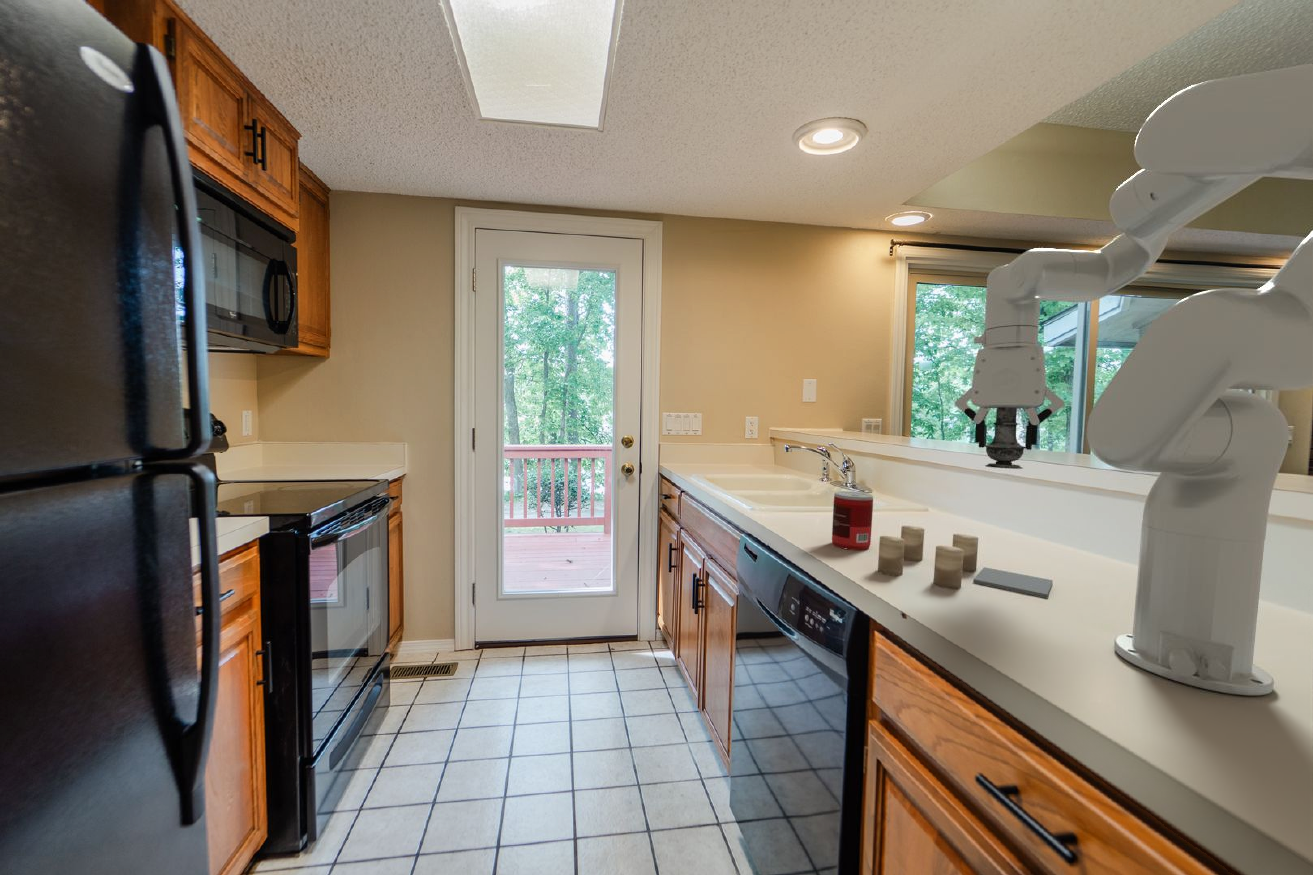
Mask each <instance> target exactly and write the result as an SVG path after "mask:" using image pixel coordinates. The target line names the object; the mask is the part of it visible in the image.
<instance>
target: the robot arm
mask: <svg viewBox="0 0 1313 875" xmlns="http://www.w3.org/2000/svg"><path fill="white" fill-rule="evenodd" d="M1135 139H1136V140H1135V144H1134V148H1133V155H1134V158H1135V161H1136V162H1135V163H1137V165H1138V166H1139V167H1140V168H1142V169H1140V170H1139V171H1137V172H1136V173H1135V174H1134V175H1132V176H1131V177H1130V178H1128V179H1127V180H1126V181H1124V182H1123V183H1122V184H1120V186H1118V188H1116V190H1115V191H1114V192H1113V194H1112V196H1111V197H1110V200H1109V212H1110V217H1111V219H1112V221H1113V223H1114V225H1115V226H1116V227H1117V229H1118V230H1119V231H1120V232H1121V233H1122V234H1120V235H1119V236H1117V238H1114V239H1113V240H1111V242H1109V243H1107V244H1106V245H1104V246H1103V247H1101V248H1099V249H1098V250H1094V251H1092V250H1091V251H1090V250H1077V249H1076V250H1075V249H1074V250H1073V249H1062V248H1061V249H1056V248H1043V247H1041V248H1033V249H1029V250H1026V251H1025V252H1023V253H1022V254H1020V255H1019V256H1017V257H1016V258H1015V259H1013V260H1012V261H1011V262H1009V264H1005V265H1001V266H998V267H996V268H994V269H992V270H991V271H990V272H989V274H988V276H987V279H986V281H987V282H986V294H985V314H984V316H985V317H984V330H983V333H982V334H981V335H977V336H976V335H975V336H974V338H973V339H974V340H973V342H974V345H981V346H982V347H983V348H981V349H978V350H977V353H976V357H975V361H974V366H973V374H972V381H971V388H969V389H968V390H967V391H965V393H964V394H962V395H961V396H960V397H959V398H957V399H956V401H955V402H954V406H955V407H957V408H958V409H959V410H961V411H962V413H964V414H965V415H966V417H967V418H969V419H970V420H971V421H972V422H973V423H974V424H975V430H974V431H975V432H974V443H978V448H985V447H984V445H987V430H988V426H987V424H986V418H987V416H988V414H989V412H990V410H991V409H997V407H1017V409H1024V410H1025V412H1026V415H1027V418H1028V420H1029V421H1027V422H1028V423H1027V425H1026V427H1025V446H1024V447H1025V449H1026V450H1028V451H1032V448H1033V447H1032V446H1037V445H1038V429H1039V428H1038V427H1039V425H1040V424H1042V423H1043V422H1044V421H1046V420H1047V419H1048V418H1049V417H1050V416H1052V415H1053V414H1054V413H1056V412H1058V411H1059V410H1060V409H1062V408H1064V406H1065V405H1066V403H1065V401H1064V400H1063V399H1062V398H1061V397H1059V396H1058V395H1057V394H1056V393H1055V392H1054V391H1053V390H1051V389H1050V388H1049V387H1048V386H1047V385H1046V373H1047V372H1046V358H1045V352H1044V351H1045V350H1044V347H1043V346H1041V345H1040V346H1039V343H1038V342H1039V331H1040V330H1039V327H1040V326H1039V325H1040V305H1041V304H1040V303H1041V301H1042V302H1043V301H1044V302H1066V303H1079V304H1080V303H1088V302H1092V301H1093V302H1094V301H1096V300H1100V299H1102V298H1104V297H1107V296H1109V295H1111V294H1113V293H1114V292H1116V291H1118V290H1120V289H1122V288H1124V287H1125V286H1127V285H1128V284H1131V283H1132V282H1134V281H1136V280H1137V279H1139V278H1141V277H1142V276H1143V275H1144V274H1145V273H1147V272H1148V271H1149V270H1150V269H1151V268H1152V266H1153V265H1154V264H1155V263H1156V262H1157V260H1158V259H1159V258H1160V256H1161V255H1162V253H1163V252H1164V250H1165V248H1166V246H1167V244H1168V241H1169V236H1171V234H1173V233H1175V232H1176V231H1178V230H1180V229H1182V228H1183V227H1185V226H1186V225H1188V224H1189V223H1191V222H1192V221H1194V220H1196V219H1197V218H1199V217H1201V216H1202V215H1203V214H1206V213H1207V212H1208V211H1210V210H1212V209H1213V208H1215V207H1216V206H1218V205H1220V204H1222V203H1223V202H1225V201H1226V200H1228V199H1229V198H1231V197H1233V196H1234V195H1237V194H1238V193H1239V192H1241V191H1243V190H1244V189H1245V188H1247V187H1248V186H1250V185H1252V184H1254V183H1255V182H1257V181H1259V180H1260V179H1262V178H1263V177H1267V178H1268V177H1269V178H1281V179H1282V178H1285V179H1296V180H1297V179H1298V180H1309V181H1310V180H1311V181H1313V63H1309V64H1308V63H1307V64H1301V65H1295V66H1289V67H1283V68H1278V69H1277V68H1276V69H1271V70H1267V71H1260V72H1252V73H1247V74H1240V75H1233V76H1229V77H1220V78H1216V79H1209V80H1203V81H1202V82H1200V83H1199V82H1198V83H1196V84H1192V85H1191V86H1188V87H1186V88H1185V89H1182V90H1180V91H1178V92H1177V93H1175V94H1174V95H1172V96H1171V97H1169V98H1167V100H1165V101H1164V102H1162V103H1161V105H1159V106H1158V107H1157V108H1156V109H1155V110H1154V111H1153V112H1152V113H1151V114H1150V115H1149V117H1147V119H1146V120H1145V122H1144V124H1143V125H1142V126H1141V128H1140V130H1139V132H1138V134H1137V136H1136V138H1135ZM1308 388H1313V231H1311V232H1310V233H1309V234H1308V235H1307V236H1306V238H1304V239H1303V240H1302V241H1301V242H1300V244H1299V245H1298V246H1297V247H1296V248H1295V250H1293V252H1292V254H1291V255H1290V256H1289V258H1288V259H1287V260H1286V262H1285V263H1283V265H1282V266H1281V268H1280V269H1279V270H1277V272H1276V273H1274V275H1273V276H1272V277H1271V279H1269V280H1268V281H1267V282H1266V283H1265V284H1264V285H1263V286H1261V287H1260V288H1257V289H1255V288H1239V287H1238V288H1236V287H1233V288H1232V287H1231V288H1230V287H1228V288H1227V287H1226V288H1214V289H1209V290H1205V291H1201V292H1198V293H1194V294H1192V295H1189V296H1187V297H1185V298H1183V299H1181V300H1179V301H1178V302H1176V303H1174V304H1173V305H1171V306H1170V307H1168V308H1167V309H1166V310H1165V311H1163V312H1161V314H1160V315H1159V316H1158V317H1157V318H1156V319H1155V320H1154V321H1153V322H1152V323H1151V324H1150V325H1149V326H1148V327H1147V329H1146V330H1145V332H1144V333H1143V334H1142V336H1141V337H1140V339H1139V340H1138V342H1137V343H1136V344H1135V346H1133V349H1132V350H1131V352H1129V354H1128V356H1127V357H1126V358H1125V360H1124V362H1122V364H1121V366H1120V367H1119V369H1118V370H1117V371H1116V372H1115V374H1114V376H1113V377H1112V379H1111V380H1110V381H1109V383H1108V384H1107V385H1106V387H1105V389H1104V390H1103V391H1102V393H1101V394H1100V395H1099V398H1098V399H1097V400H1096V401H1095V404H1094V405H1093V407H1092V409H1091V411H1090V413H1089V417H1088V420H1087V425H1086V435H1085V436H1086V441H1087V444H1088V447H1089V449H1090V450H1091V452H1092V454H1094V456H1095V457H1097V459H1098V460H1100V461H1101V462H1103V463H1105V465H1108V466H1110V467H1113V468H1115V469H1119V470H1124V471H1131V472H1141V473H1160V474H1159V475H1158V477H1157V478H1156V480H1155V481H1154V482H1153V484H1152V486H1151V488H1150V490H1149V491H1148V494H1147V496H1146V499H1145V503H1144V507H1143V514H1142V522H1141V529H1140V543H1139V552H1138V553H1139V554H1138V556H1139V557H1138V568H1137V578H1136V588H1135V590H1136V591H1135V600H1134V601H1135V602H1134V614H1133V615H1134V616H1133V625H1132V626H1133V627H1132V633H1127V634H1125V633H1124V634H1121V635H1118V636H1117V637H1115V639H1114V642H1113V643H1114V644H1113V645H1114V646H1113V648H1114V650H1115V652H1116V653H1117V654H1118V655H1119V657H1122V658H1123V659H1125V660H1126V661H1128V662H1130V663H1131V664H1133V665H1134V666H1137V667H1138V668H1141V669H1143V670H1145V671H1148V672H1149V673H1152V674H1155V675H1158V676H1160V677H1163V678H1166V679H1169V680H1172V681H1175V682H1178V683H1181V684H1184V685H1189V686H1192V687H1196V688H1200V689H1205V690H1209V691H1214V692H1218V693H1225V694H1229V695H1230V694H1231V695H1239V696H1249V697H1250V696H1251V697H1252V696H1263V695H1264V696H1265V695H1269V694H1271V693H1272V692H1274V691H1273V690H1274V684H1275V680H1274V678H1273V677H1272V675H1271V674H1270V673H1268V672H1267V671H1266V670H1265V669H1263V668H1262V667H1260V666H1257V665H1256V664H1254V663H1253V662H1254V652H1255V642H1256V635H1257V634H1256V632H1257V622H1258V614H1259V612H1258V611H1259V610H1258V609H1259V603H1260V602H1259V600H1260V592H1261V582H1262V581H1261V580H1262V573H1263V571H1262V570H1263V569H1262V568H1263V561H1264V550H1265V541H1266V535H1267V526H1268V525H1267V524H1268V518H1269V509H1270V504H1271V498H1272V493H1273V490H1274V486H1275V483H1276V480H1277V477H1278V475H1279V471H1280V469H1281V467H1282V464H1283V461H1284V459H1285V456H1286V453H1287V450H1288V448H1289V447H1288V446H1289V442H1290V429H1289V428H1290V427H1289V423H1288V421H1287V419H1286V417H1285V415H1284V414H1283V411H1281V409H1279V407H1277V406H1276V404H1274V403H1273V402H1272V401H1271V400H1268V399H1267V398H1265V397H1263V396H1260V395H1259V394H1256V393H1253V392H1249V391H1251V390H1252V391H1296V390H1303V389H1308ZM1245 390H1249V391H1245ZM1045 399H1047V400H1048V401H1050V405H1049V406H1048V407H1046V408H1045V409H1043V410H1042V411H1040V412H1039V413H1038V412H1037V408H1040V407H1041V406H1043V405H1044V403H1045ZM969 401H971V404H972V405H973V406H976V407H978V410H977V412H976V411H975V410H974V409H972V408H971V407H970V406H969V404H968V403H969ZM1025 449H1024V450H1025Z"/></svg>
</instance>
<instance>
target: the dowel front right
mask: <svg viewBox="0 0 1313 875" xmlns="http://www.w3.org/2000/svg"><path fill="white" fill-rule="evenodd" d="M963 554H964V550H962V549H960V548H956V547H952V546H951V545H936V546H935V554H934V555H935V556H934V557H935V558H934V569H933V570H934V571H933V584H935V585H936V586H938V587H942V588H946V589H953V590H958V589H961V588H962V581H963V580H962V579H963V571H962V567H963Z"/></svg>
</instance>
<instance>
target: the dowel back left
mask: <svg viewBox="0 0 1313 875" xmlns="http://www.w3.org/2000/svg"><path fill="white" fill-rule="evenodd" d="M900 538H902V539H904V540H905V543H904V559H903V560H906V561H911V562H922V561H923V560H924V559H923V558H924V542H925V528H924V527H920V526H915V525H901V533H900Z"/></svg>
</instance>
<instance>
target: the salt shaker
mask: <svg viewBox="0 0 1313 875" xmlns="http://www.w3.org/2000/svg"><path fill="white" fill-rule="evenodd" d="M1017 410H1018V408H1017V407H997V408H996V414H995V421H994V422H993V425H994V436H993V439H992V441H991V442H990V443H988V444H986V445H984V447H983V448H985V452H986V454H987V457H988V458H990V459H991V460H993V461H995V463H987V464H986V465H984V466H985V468H986V467H987V468H995V469H997V468H999V469H1010V470H1011V469H1013V470H1014V469H1015V470H1020V469H1023V468H1024V467H1023V466H1020V464H1014V463H1013V462H1015V461H1019V459H1021V458H1022V456H1023V455H1024V450H1025V446H1023V445H1021V444H1020V443H1019V442H1018V439H1017V427H1018V425H1020V424H1019V423H1018V422H1017V412H1018V411H1017Z"/></svg>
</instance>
